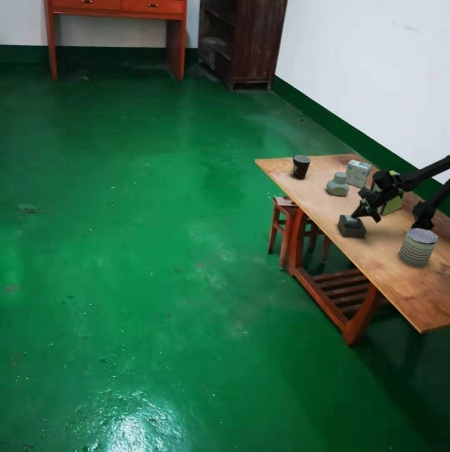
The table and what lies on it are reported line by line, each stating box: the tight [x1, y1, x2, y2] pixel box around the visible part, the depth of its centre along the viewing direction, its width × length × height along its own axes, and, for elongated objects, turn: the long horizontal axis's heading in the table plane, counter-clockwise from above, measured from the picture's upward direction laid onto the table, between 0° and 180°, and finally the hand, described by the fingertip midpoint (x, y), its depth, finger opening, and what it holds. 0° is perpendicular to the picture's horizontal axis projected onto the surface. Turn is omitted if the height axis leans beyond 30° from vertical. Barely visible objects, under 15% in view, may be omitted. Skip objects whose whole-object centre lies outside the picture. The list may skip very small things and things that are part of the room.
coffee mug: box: [292, 154, 312, 180], centre depth 236 cm, size 12×9×10 cm
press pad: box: [344, 214, 357, 223], centre depth 193 cm, size 4×4×2 cm
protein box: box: [369, 170, 407, 217], centre depth 214 cm, size 10×15×16 cm
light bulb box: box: [344, 159, 372, 189], centre depth 234 cm, size 11×7×11 cm, turn 58°
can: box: [398, 228, 439, 268], centre depth 180 cm, size 11×11×12 cm
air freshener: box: [326, 171, 350, 196], centre depth 223 cm, size 11×8×10 cm
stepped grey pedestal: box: [337, 214, 367, 239], centre depth 195 cm, size 10×10×6 cm
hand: (351, 217), depth 192 cm, fingers closed, pressing on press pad
